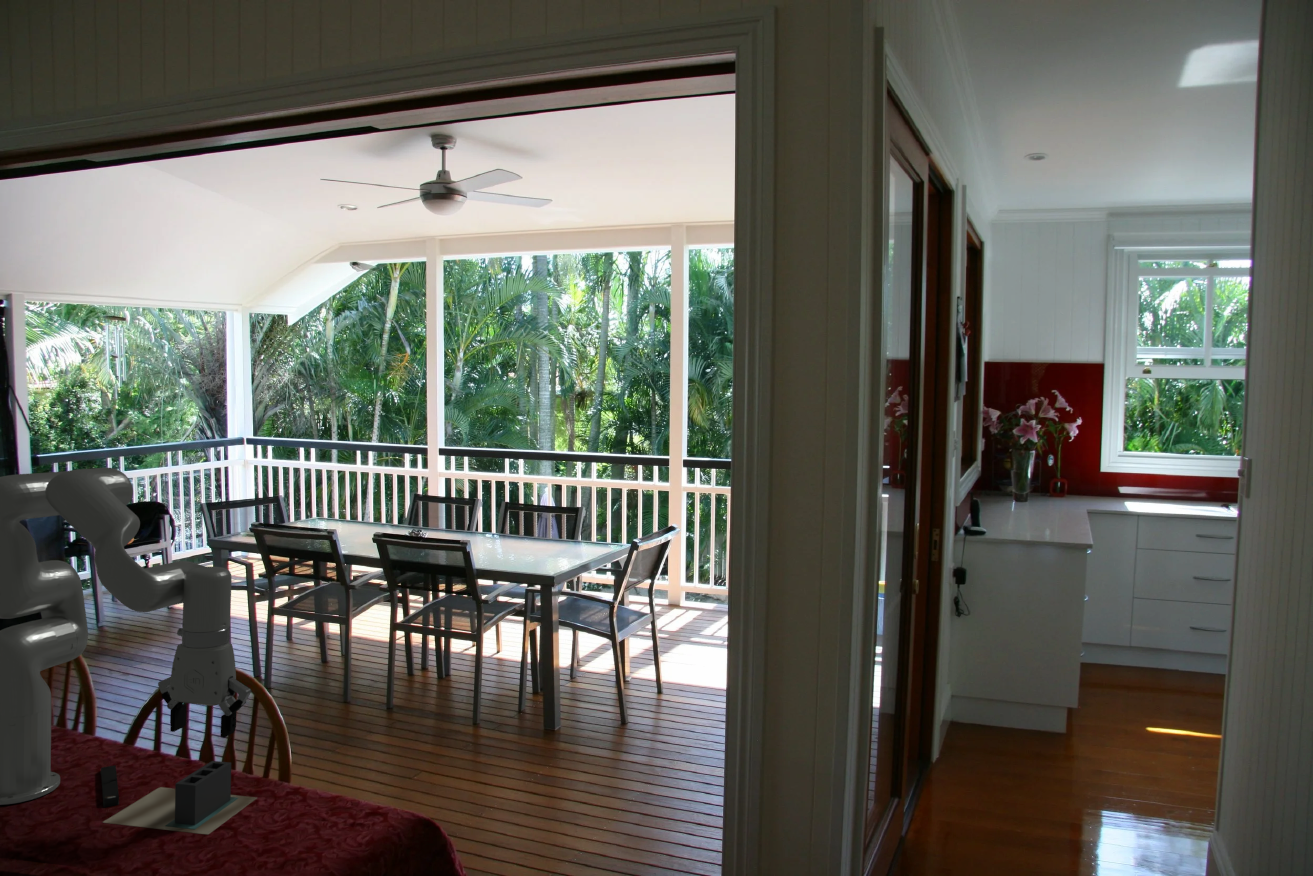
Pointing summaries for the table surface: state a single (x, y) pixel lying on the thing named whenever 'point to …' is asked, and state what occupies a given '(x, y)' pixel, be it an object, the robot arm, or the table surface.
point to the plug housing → (202, 792)
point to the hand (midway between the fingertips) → (202, 732)
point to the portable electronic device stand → (109, 786)
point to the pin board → (161, 813)
